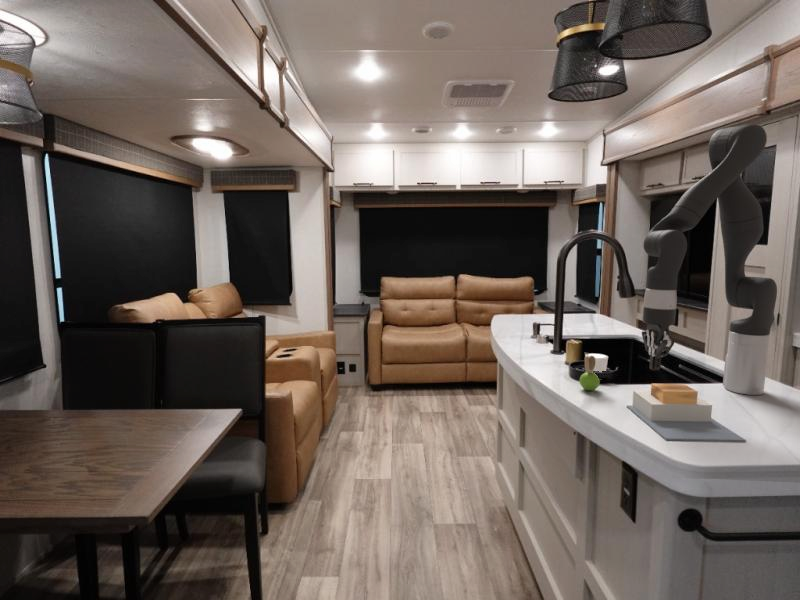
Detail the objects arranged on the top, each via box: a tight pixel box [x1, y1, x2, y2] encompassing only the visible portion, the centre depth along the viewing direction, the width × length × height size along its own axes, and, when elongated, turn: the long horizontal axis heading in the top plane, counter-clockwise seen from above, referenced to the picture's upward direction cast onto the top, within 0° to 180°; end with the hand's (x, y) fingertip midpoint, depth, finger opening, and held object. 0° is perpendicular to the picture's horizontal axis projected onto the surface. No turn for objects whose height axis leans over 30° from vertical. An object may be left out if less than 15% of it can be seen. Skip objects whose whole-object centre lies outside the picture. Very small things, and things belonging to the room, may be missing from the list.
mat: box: [626, 405, 747, 443], centre depth 109 cm, size 20×17×1 cm
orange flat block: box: [650, 383, 699, 404], centre depth 112 cm, size 6×8×3 cm
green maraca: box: [579, 352, 601, 392], centre depth 132 cm, size 5×6×12 cm
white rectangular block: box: [632, 390, 713, 422], centre depth 114 cm, size 10×14×4 cm
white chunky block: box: [584, 352, 609, 372], centre depth 146 cm, size 7×7×7 cm
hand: (654, 369), depth 122 cm, fingers closed
